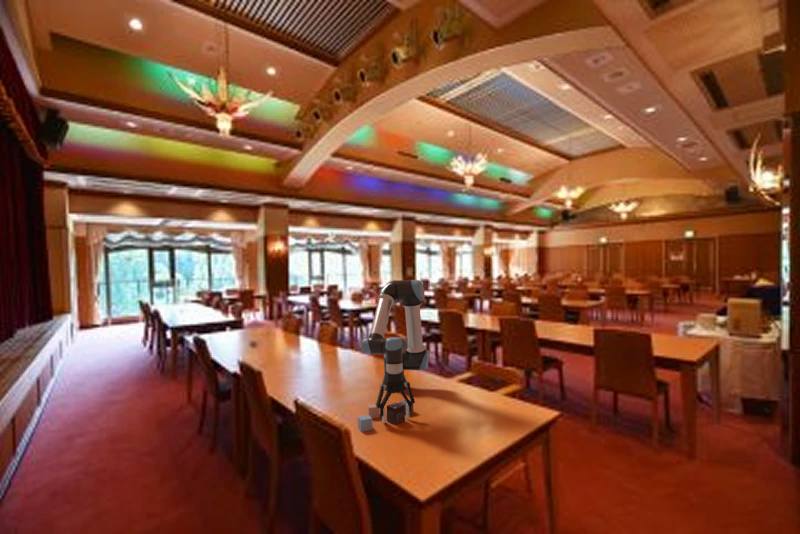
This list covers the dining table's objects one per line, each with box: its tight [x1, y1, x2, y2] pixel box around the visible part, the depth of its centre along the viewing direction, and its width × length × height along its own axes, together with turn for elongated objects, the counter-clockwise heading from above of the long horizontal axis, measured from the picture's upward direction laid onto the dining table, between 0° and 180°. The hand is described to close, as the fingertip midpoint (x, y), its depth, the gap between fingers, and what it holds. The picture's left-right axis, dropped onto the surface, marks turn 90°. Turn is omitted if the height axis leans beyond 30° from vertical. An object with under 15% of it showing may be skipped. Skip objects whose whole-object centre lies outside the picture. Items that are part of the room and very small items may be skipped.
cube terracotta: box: [367, 403, 381, 419], centre depth 180 cm, size 5×5×5 cm
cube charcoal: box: [398, 399, 415, 416], centre depth 184 cm, size 5×5×5 cm
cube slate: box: [357, 414, 373, 433], centre depth 166 cm, size 5×5×5 cm
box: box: [386, 402, 406, 425], centre depth 173 cm, size 6×6×7 cm
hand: (396, 420), depth 173 cm, fingers open, 11 cm apart
